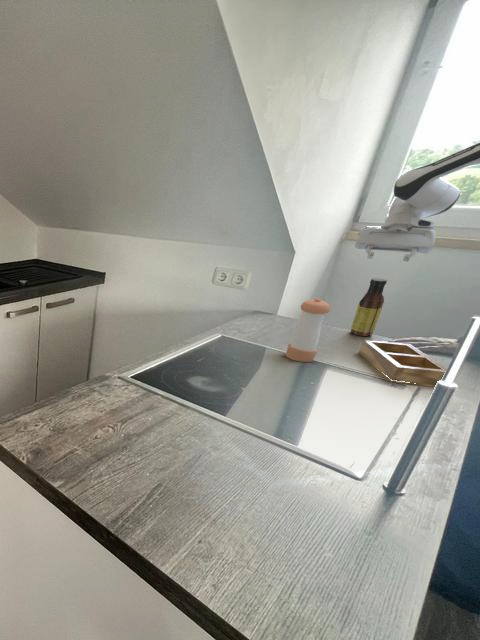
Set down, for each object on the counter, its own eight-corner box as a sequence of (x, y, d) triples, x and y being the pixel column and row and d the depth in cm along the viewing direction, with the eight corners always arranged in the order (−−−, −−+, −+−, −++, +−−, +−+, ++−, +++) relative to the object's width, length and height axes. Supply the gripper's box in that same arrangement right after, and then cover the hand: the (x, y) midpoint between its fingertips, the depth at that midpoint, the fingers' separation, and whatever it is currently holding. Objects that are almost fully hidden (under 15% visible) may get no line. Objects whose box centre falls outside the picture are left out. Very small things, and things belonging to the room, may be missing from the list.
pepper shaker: (300, 352, 126) (318, 294, 118) (319, 361, 120) (340, 300, 112) (279, 353, 125) (296, 296, 118) (298, 362, 119) (317, 302, 111)
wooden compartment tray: (404, 357, 121) (410, 343, 119) (446, 388, 102) (454, 372, 100) (358, 353, 124) (363, 339, 123) (391, 382, 106) (397, 366, 104)
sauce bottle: (363, 331, 142) (383, 277, 134) (376, 337, 137) (398, 281, 129) (344, 331, 143) (363, 277, 135) (356, 337, 137) (377, 281, 129)
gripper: (362, 220, 144) (351, 250, 142) (442, 222, 131) (431, 256, 129) (359, 232, 149) (348, 261, 147) (435, 235, 136) (424, 267, 134)
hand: (387, 258), depth 138 cm, fingers open, 8 cm apart
